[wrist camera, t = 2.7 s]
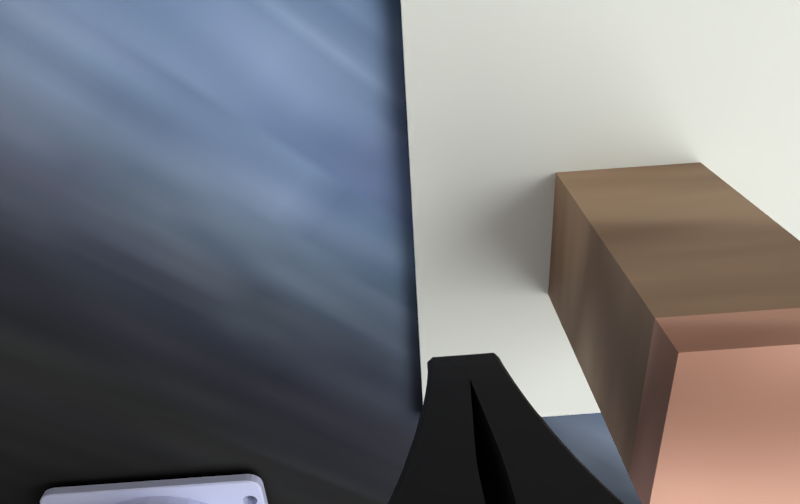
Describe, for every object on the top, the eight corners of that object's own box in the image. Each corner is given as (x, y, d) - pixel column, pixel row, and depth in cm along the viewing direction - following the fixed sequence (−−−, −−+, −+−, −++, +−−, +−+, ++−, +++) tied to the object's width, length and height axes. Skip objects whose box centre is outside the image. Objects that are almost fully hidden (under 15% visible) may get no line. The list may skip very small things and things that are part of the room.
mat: (933, 378, 22) (944, 387, 22) (423, 414, 22) (424, 425, 22) (1132, -66, 16) (1153, -65, 15) (399, -16, 15) (400, -14, 15)
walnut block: (678, 285, 19) (850, 501, 12) (548, 294, 19) (647, 515, 12) (700, 162, 17) (920, 335, 10) (556, 172, 17) (679, 352, 10)
